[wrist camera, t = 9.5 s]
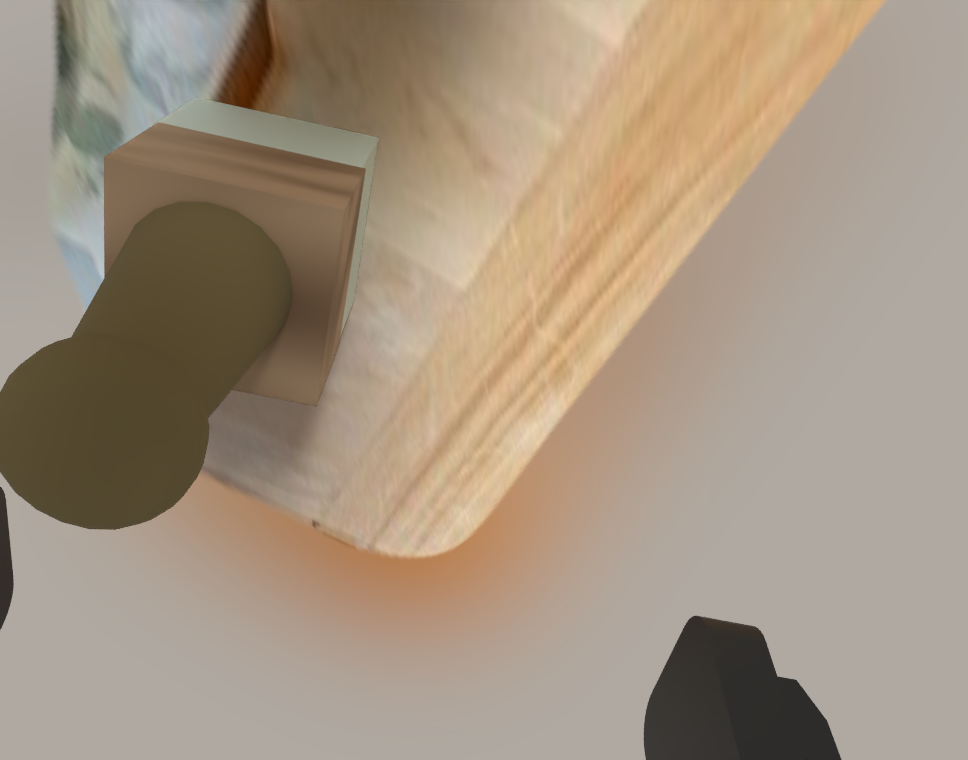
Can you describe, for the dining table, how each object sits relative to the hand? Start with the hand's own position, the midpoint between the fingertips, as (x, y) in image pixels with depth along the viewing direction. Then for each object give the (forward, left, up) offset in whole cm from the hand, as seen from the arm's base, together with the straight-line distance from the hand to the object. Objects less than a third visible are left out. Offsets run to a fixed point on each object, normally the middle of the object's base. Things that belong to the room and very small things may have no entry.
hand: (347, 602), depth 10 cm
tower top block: (+6, -7, -25) cm, 27 cm away
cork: (+6, -8, -20) cm, 23 cm away
